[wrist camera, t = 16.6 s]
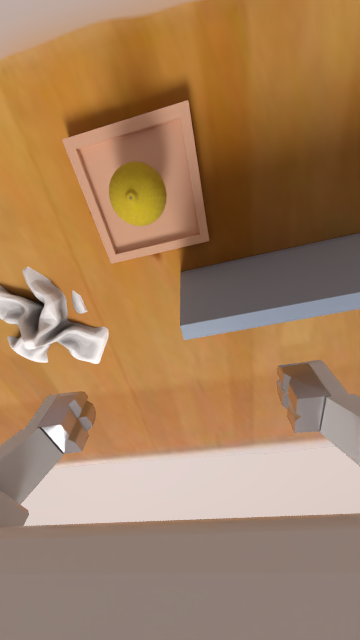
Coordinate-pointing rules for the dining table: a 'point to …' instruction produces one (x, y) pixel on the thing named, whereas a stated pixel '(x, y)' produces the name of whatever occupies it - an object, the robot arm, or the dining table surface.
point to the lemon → (137, 193)
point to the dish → (161, 154)
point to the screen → (271, 288)
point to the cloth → (49, 322)
